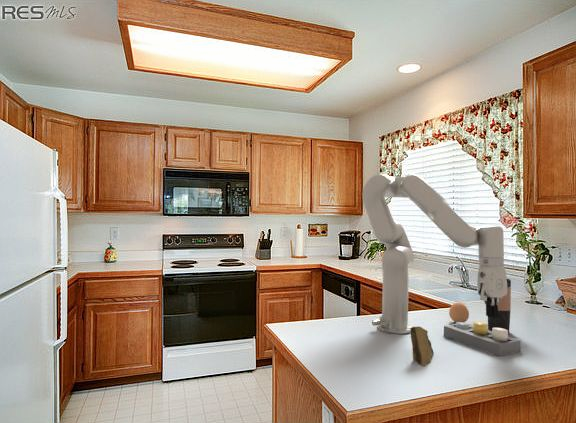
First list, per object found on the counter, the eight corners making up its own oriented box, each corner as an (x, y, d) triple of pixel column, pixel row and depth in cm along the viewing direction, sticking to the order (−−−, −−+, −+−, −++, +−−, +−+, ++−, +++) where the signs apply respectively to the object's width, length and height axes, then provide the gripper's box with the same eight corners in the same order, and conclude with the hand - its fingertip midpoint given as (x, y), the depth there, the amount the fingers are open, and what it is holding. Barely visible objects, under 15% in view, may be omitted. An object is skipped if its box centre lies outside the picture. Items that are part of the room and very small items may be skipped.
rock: (423, 342, 119) (398, 340, 116) (438, 325, 115) (412, 323, 111) (440, 373, 111) (414, 373, 107) (457, 357, 107) (430, 356, 103)
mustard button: (482, 335, 124) (482, 326, 124) (470, 331, 128) (470, 322, 128) (490, 334, 126) (490, 324, 126) (478, 330, 130) (478, 321, 130)
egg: (471, 326, 146) (472, 305, 146) (452, 325, 147) (452, 304, 147) (464, 321, 154) (465, 300, 154) (446, 320, 154) (447, 299, 154)
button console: (499, 356, 115) (499, 344, 115) (443, 335, 134) (443, 325, 134) (520, 351, 120) (520, 340, 120) (464, 332, 138) (464, 322, 139)
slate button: (463, 335, 130) (463, 326, 130) (453, 331, 134) (453, 322, 134) (471, 333, 132) (472, 324, 132) (461, 330, 136) (461, 321, 136)
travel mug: (513, 334, 137) (514, 281, 137) (491, 332, 138) (492, 280, 139) (505, 328, 144) (506, 277, 145) (484, 326, 146) (485, 276, 146)
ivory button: (502, 342, 117) (502, 332, 117) (489, 338, 121) (489, 328, 121) (510, 340, 119) (510, 330, 119) (497, 336, 123) (497, 326, 123)
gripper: (488, 264, 117) (489, 322, 117) (515, 262, 124) (516, 316, 124) (466, 262, 124) (467, 317, 123) (493, 260, 131) (494, 311, 131)
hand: (491, 316), depth 124 cm, fingers closed
